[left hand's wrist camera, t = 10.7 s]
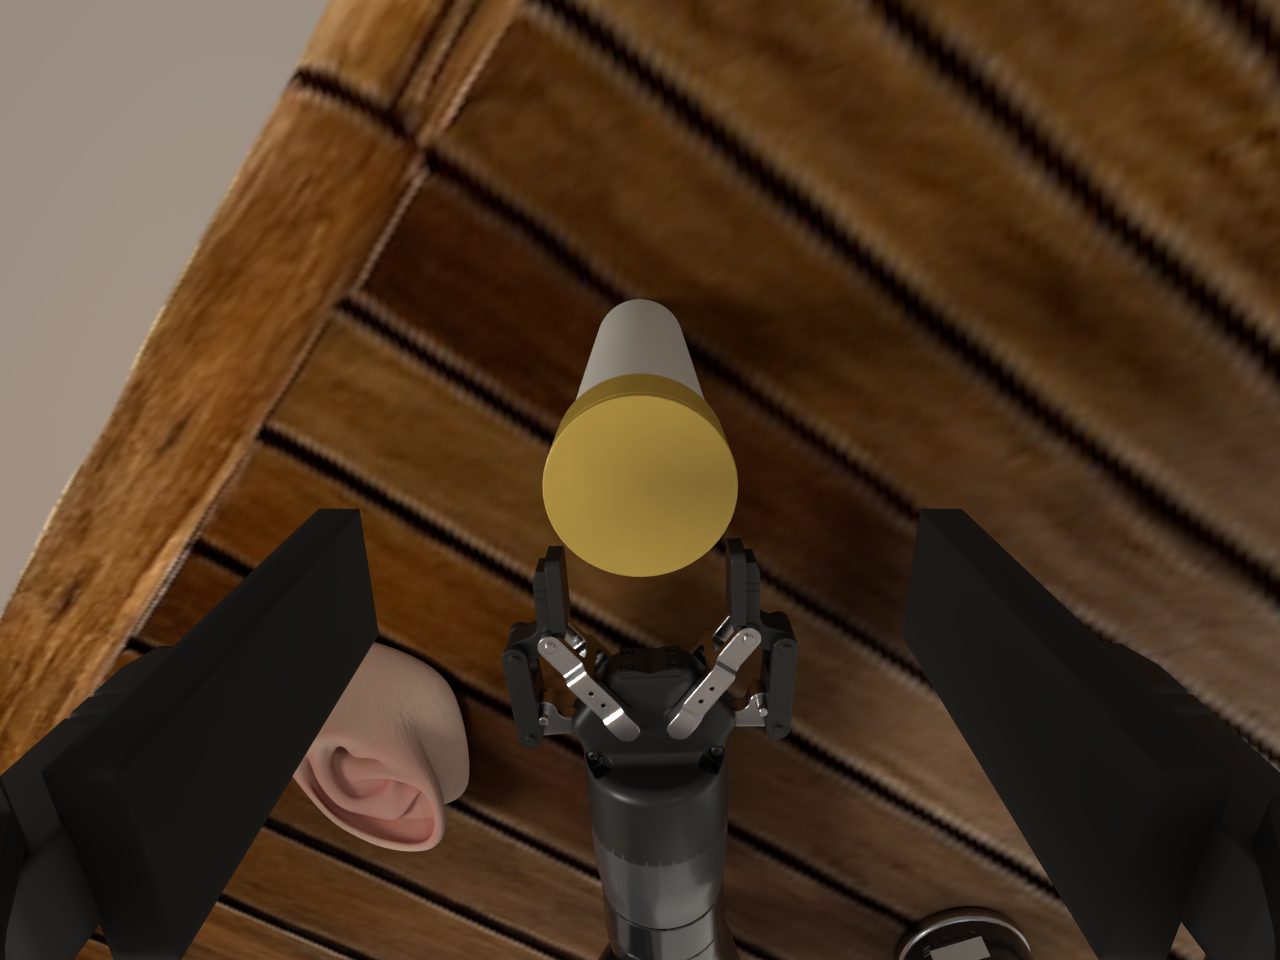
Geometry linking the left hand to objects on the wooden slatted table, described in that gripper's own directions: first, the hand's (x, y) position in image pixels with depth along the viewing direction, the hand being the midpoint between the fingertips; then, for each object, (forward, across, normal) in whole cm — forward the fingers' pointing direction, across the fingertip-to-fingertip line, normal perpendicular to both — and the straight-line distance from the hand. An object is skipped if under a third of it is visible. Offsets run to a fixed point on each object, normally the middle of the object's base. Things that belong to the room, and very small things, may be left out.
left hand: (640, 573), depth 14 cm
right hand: (+18, 0, +8) cm, 20 cm away
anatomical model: (+24, +16, +24) cm, 38 cm away
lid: (+5, 0, 0) cm, 5 cm away
